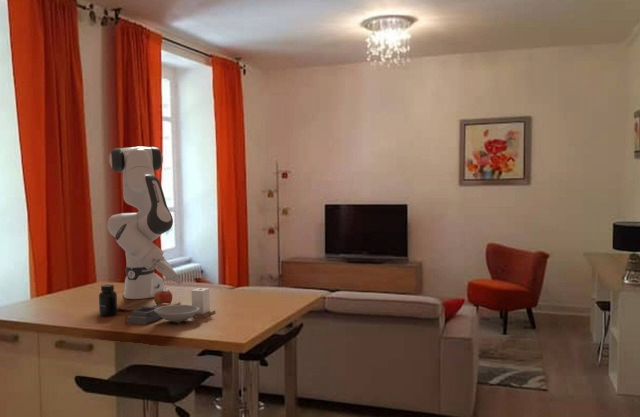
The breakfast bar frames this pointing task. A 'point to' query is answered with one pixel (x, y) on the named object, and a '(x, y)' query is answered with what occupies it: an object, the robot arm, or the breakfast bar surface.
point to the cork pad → (204, 314)
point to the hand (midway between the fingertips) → (179, 280)
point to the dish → (177, 312)
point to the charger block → (201, 299)
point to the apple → (163, 297)
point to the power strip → (145, 315)
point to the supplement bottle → (107, 301)
